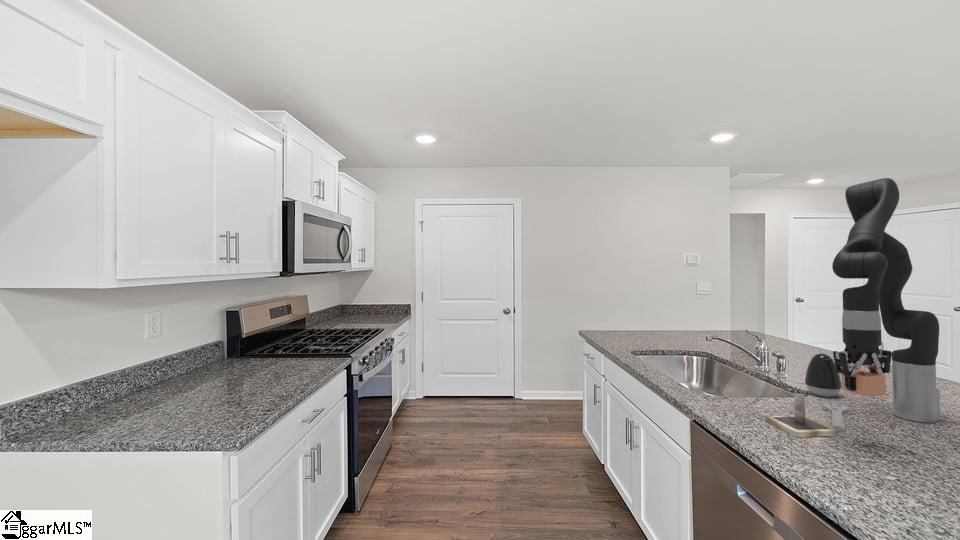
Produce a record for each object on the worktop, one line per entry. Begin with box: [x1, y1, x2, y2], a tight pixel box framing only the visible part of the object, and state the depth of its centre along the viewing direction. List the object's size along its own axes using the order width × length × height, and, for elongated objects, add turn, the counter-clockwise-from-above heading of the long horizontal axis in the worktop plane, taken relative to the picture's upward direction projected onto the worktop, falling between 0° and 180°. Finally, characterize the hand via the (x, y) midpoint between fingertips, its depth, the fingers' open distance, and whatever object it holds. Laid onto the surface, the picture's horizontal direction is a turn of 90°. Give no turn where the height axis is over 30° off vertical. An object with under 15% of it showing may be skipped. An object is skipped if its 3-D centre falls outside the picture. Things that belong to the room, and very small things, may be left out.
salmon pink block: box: [840, 369, 887, 397], centre depth 106 cm, size 6×6×5 cm
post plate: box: [764, 392, 840, 438], centre depth 117 cm, size 12×12×10 cm
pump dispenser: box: [804, 353, 842, 398], centre depth 145 cm, size 10×10×15 cm
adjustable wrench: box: [821, 403, 850, 433], centre depth 124 cm, size 25×6×2 cm, turn 135°
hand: (863, 389), depth 106 cm, fingers closed on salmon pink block, 6 cm apart
